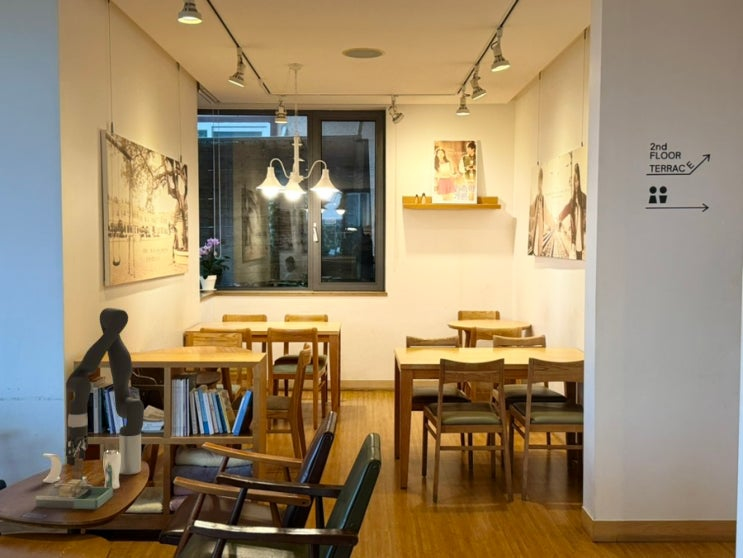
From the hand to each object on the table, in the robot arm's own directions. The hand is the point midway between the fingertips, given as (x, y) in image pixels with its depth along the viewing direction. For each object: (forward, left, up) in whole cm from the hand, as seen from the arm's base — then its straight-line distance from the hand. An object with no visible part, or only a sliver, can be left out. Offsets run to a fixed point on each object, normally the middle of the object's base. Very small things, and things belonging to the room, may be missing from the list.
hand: (76, 462), depth 288 cm
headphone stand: (-8, -15, -11) cm, 20 cm away
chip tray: (+15, +15, -11) cm, 24 cm away
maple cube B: (+18, +5, -8) cm, 20 cm away
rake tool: (0, 0, -11) cm, 11 cm away
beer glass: (-2, +14, -11) cm, 18 cm away
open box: (+15, +3, -11) cm, 19 cm away
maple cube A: (+12, +5, -8) cm, 15 cm away
